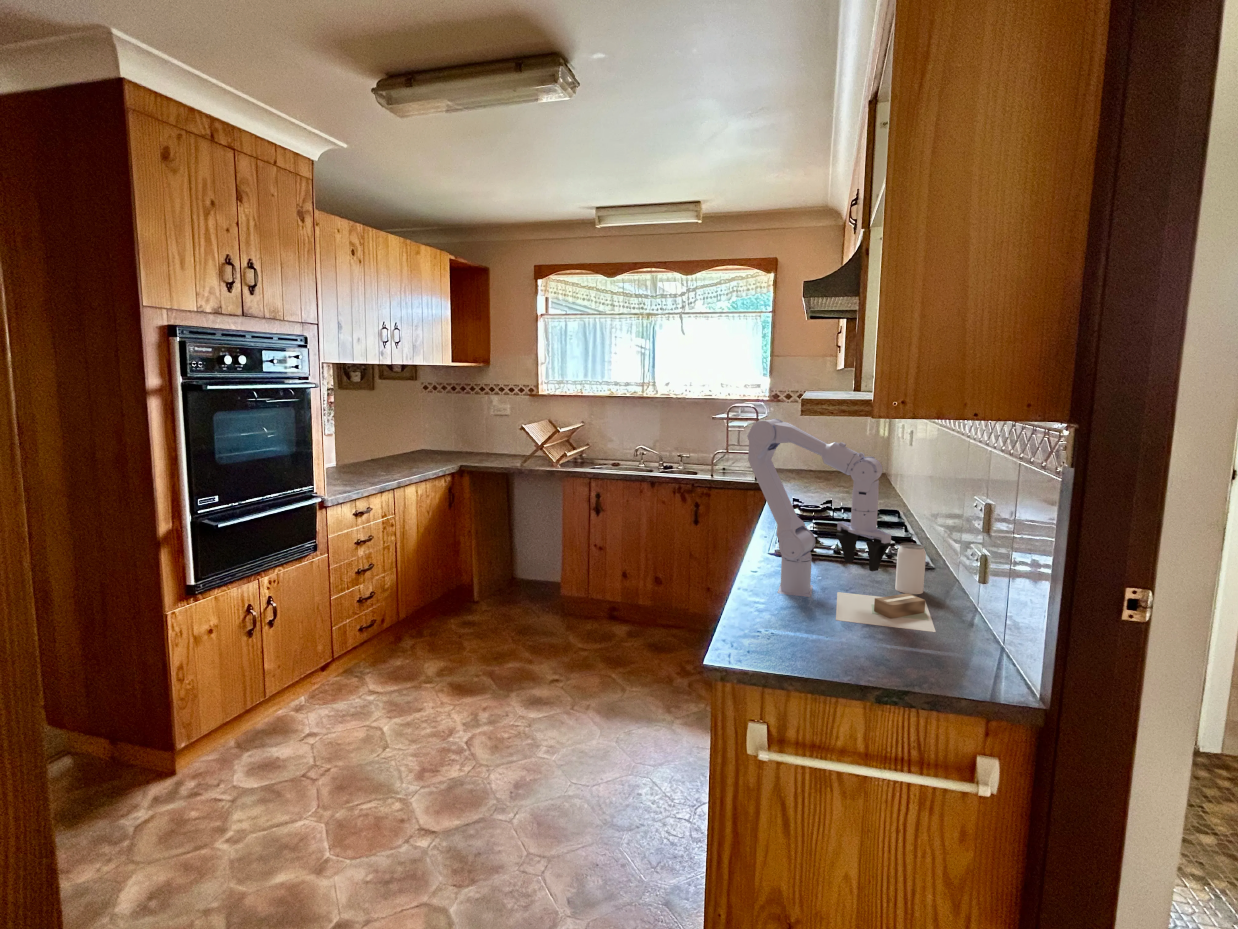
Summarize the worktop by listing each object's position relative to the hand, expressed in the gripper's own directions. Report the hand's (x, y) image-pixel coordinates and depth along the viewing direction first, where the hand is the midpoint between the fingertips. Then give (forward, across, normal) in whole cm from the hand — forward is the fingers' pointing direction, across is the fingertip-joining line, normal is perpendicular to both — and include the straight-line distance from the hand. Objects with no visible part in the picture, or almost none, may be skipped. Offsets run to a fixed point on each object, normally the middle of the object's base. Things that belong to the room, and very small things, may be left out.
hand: (861, 566), depth 156 cm
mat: (+9, +6, +1) cm, 11 cm away
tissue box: (+9, +9, +3) cm, 13 cm away
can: (+10, -1, +18) cm, 21 cm away
